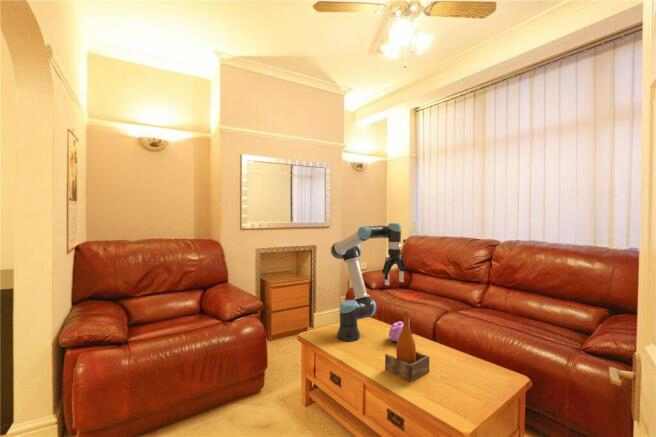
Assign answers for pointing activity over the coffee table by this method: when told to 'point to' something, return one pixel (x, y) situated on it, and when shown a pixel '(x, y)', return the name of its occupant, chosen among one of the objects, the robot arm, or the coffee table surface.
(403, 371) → the wooden box
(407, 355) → the wine bottle
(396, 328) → the teapot
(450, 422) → the coffee table surface
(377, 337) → the coffee table surface
